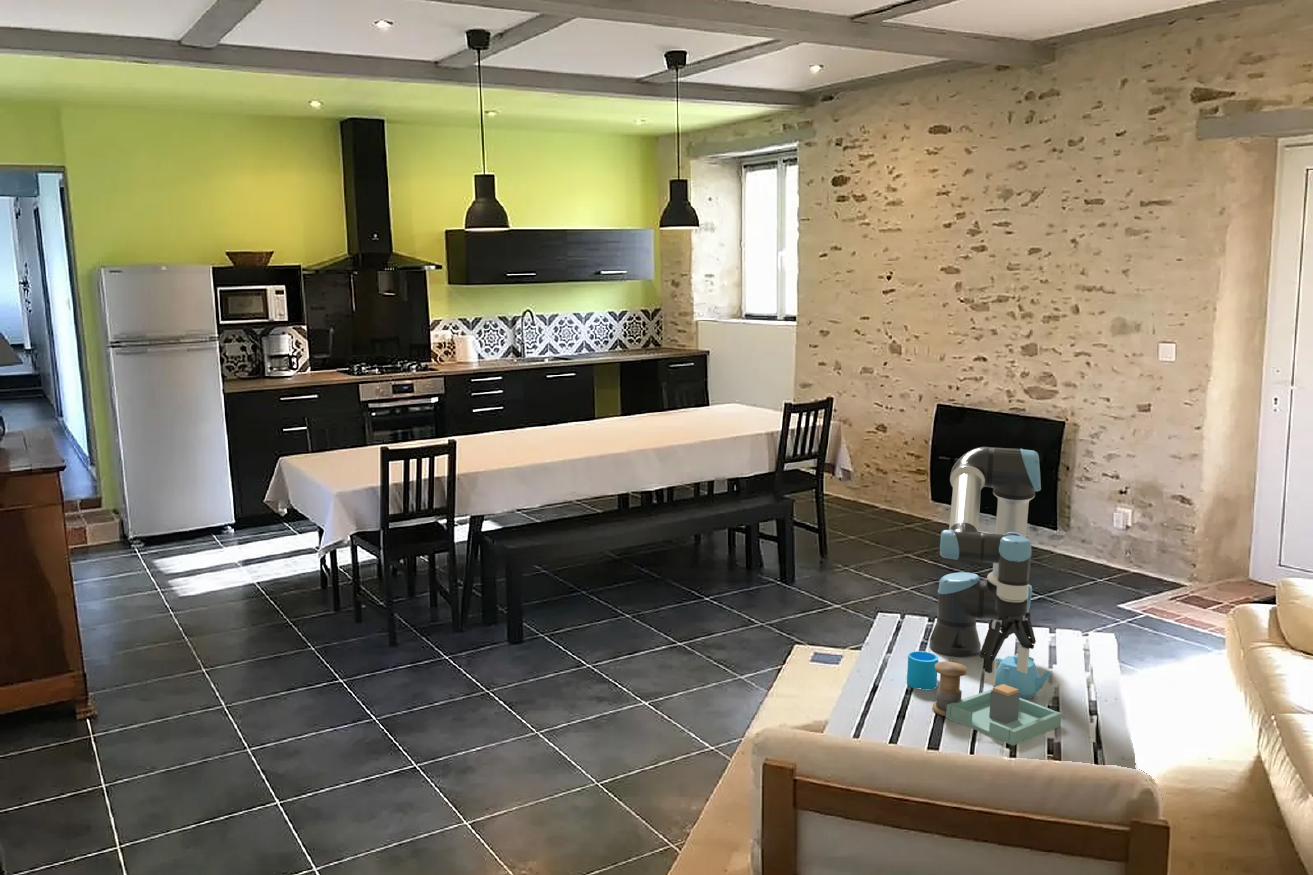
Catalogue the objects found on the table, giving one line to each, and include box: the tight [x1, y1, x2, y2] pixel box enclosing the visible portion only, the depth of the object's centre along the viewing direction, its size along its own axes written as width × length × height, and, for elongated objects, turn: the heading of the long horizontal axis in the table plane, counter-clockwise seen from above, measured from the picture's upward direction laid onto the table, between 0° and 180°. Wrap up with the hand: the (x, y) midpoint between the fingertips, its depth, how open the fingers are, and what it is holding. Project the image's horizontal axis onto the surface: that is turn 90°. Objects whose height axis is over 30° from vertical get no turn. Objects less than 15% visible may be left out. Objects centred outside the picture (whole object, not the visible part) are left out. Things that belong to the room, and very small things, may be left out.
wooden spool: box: [931, 661, 968, 717], centre depth 273 cm, size 8×8×12 cm
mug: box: [906, 651, 939, 690], centre depth 293 cm, size 12×8×8 cm
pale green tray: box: [945, 688, 1062, 746], centre depth 268 cm, size 20×20×4 cm
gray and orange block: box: [989, 684, 1020, 724], centre depth 267 cm, size 5×5×8 cm
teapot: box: [992, 654, 1052, 700], centre depth 285 cm, size 15×14×11 cm
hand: (1005, 677), depth 267 cm, fingers open, 13 cm apart
